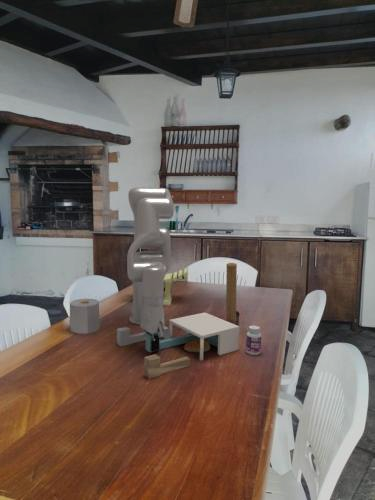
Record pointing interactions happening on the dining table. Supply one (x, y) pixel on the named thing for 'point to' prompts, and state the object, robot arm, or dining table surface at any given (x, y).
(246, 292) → the dining table surface
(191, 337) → the blue-grey long flat part
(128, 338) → the tee stick
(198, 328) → the desk
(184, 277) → the slatted curved stool
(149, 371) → the brown angular wooden piece
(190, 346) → the pastry
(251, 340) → the pill bottle
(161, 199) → the robot arm
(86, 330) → the toilet paper roll
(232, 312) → the hammer
